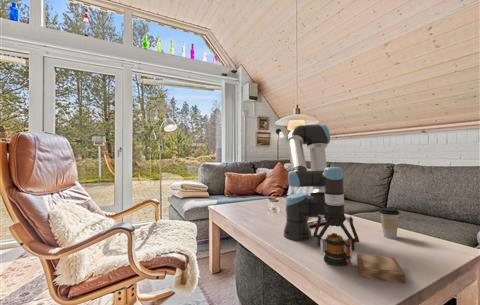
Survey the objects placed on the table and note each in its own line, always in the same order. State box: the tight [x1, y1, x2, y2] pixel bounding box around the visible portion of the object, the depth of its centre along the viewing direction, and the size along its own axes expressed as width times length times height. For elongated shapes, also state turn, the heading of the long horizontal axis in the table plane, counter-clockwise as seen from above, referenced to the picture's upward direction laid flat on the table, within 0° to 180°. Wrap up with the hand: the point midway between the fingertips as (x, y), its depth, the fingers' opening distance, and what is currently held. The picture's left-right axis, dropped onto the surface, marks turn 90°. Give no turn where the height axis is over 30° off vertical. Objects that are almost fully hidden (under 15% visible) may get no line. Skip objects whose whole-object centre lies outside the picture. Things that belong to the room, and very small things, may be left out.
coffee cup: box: [378, 206, 400, 240], centre depth 125 cm, size 9×9×15 cm
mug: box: [323, 232, 352, 267], centre depth 97 cm, size 13×10×12 cm
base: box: [356, 253, 407, 284], centre depth 89 cm, size 14×14×3 cm
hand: (335, 256), depth 98 cm, fingers closed on mug, 10 cm apart
